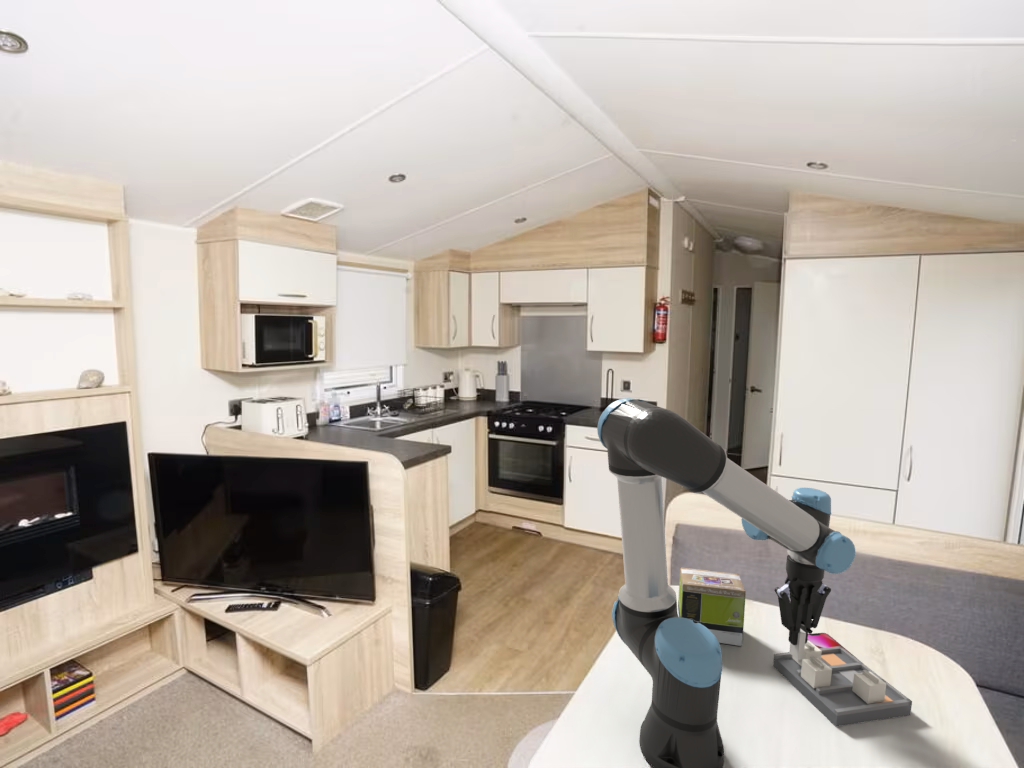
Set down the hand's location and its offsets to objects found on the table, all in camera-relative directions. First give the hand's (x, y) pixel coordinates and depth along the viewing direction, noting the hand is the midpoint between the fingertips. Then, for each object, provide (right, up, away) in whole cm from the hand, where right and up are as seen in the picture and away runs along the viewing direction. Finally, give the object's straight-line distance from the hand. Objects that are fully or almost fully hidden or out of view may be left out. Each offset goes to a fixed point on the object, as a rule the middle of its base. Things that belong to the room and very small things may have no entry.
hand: (796, 656), depth 125 cm
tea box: (-14, -2, +17) cm, 22 cm away
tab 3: (+10, -4, -10) cm, 14 cm away
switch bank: (+7, -5, -4) cm, 10 cm away
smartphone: (+14, -4, +9) cm, 17 cm away
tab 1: (+3, -2, +1) cm, 3 cm away
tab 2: (+1, -3, -6) cm, 6 cm away
